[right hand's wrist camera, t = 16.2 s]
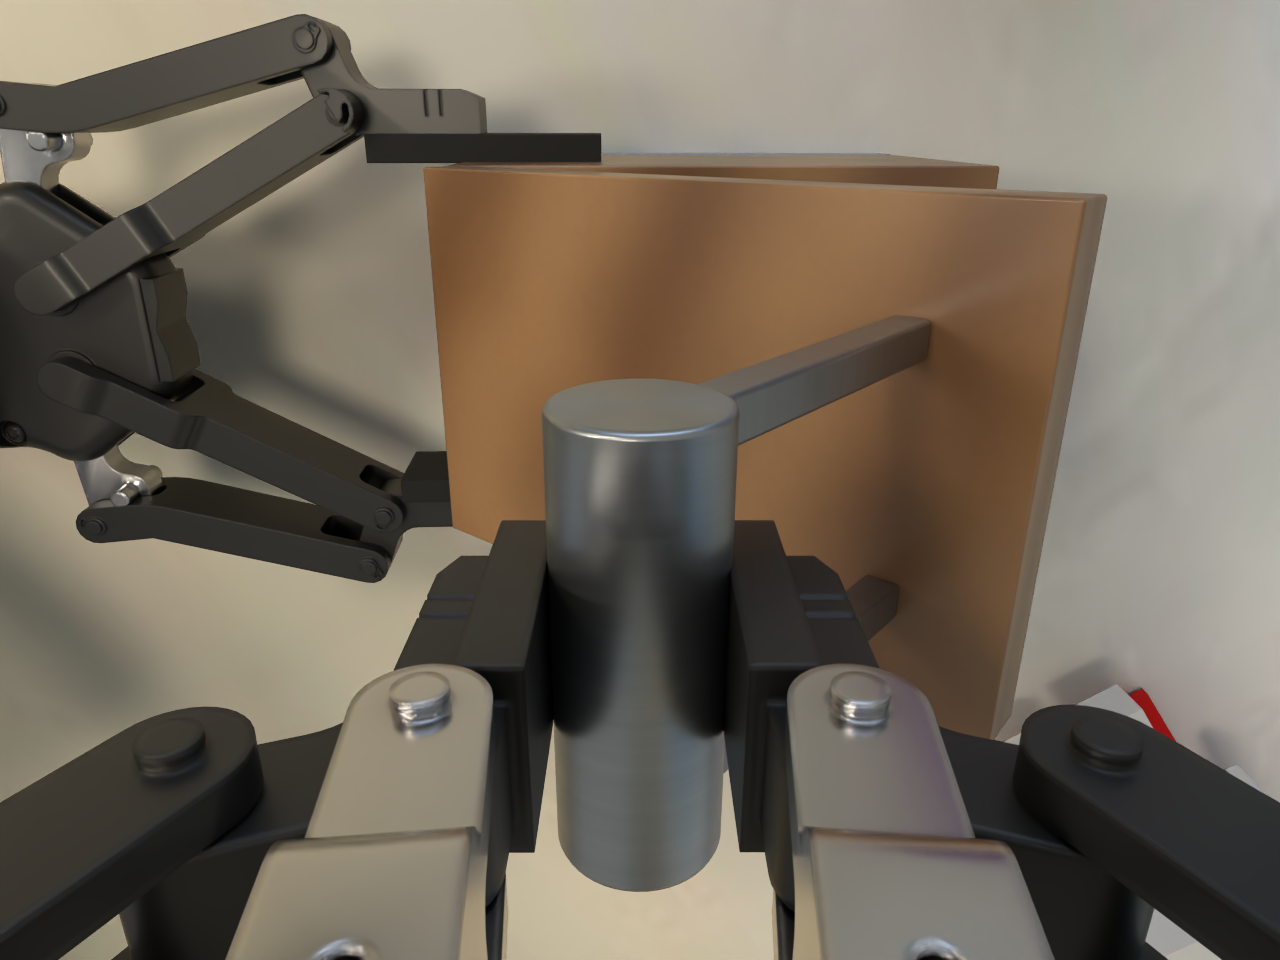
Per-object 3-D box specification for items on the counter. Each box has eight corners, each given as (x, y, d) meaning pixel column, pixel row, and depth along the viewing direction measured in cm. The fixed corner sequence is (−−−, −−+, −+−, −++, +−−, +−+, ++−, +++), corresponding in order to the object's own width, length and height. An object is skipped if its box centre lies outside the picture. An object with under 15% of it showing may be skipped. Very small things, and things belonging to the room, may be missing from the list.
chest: (881, 153, 33) (1001, 165, 23) (857, 402, 37) (952, 504, 27) (493, 153, 33) (446, 164, 23) (506, 406, 36) (471, 511, 26)
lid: (1108, 193, 14) (790, 259, 7) (1011, 716, 17) (736, 1101, 10) (462, 166, 22) (44, 182, 16) (485, 514, 26) (152, 650, 19)
